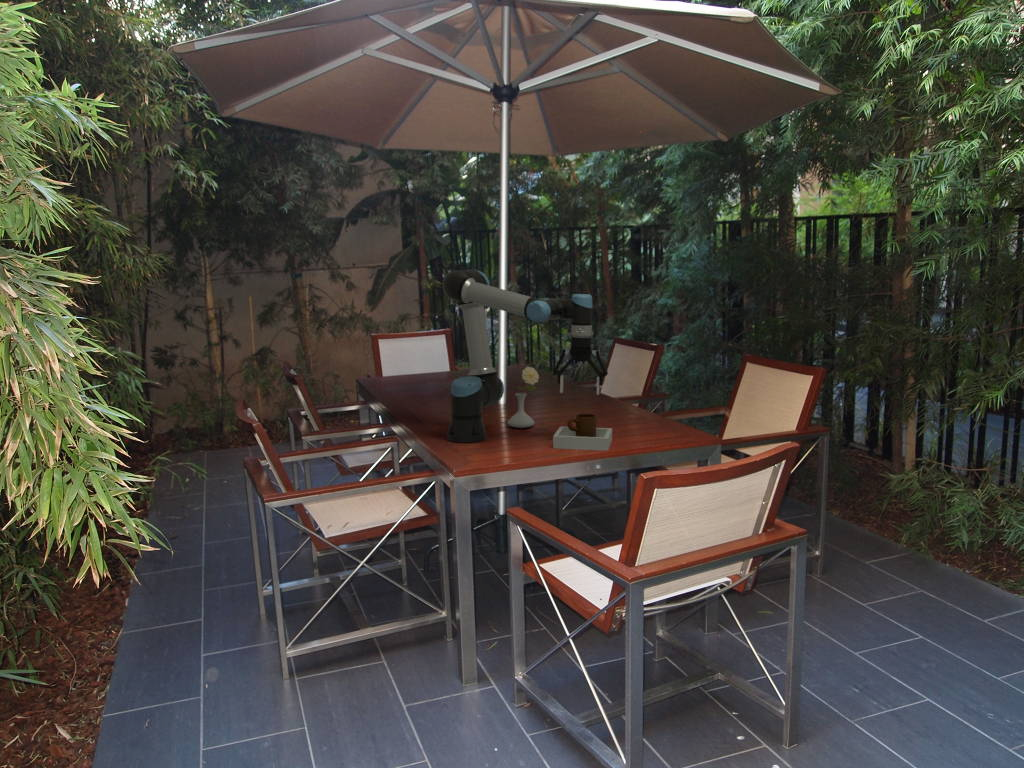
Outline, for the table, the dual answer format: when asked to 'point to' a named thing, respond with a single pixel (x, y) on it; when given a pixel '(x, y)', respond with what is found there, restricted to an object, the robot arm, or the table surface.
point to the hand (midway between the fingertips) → (579, 393)
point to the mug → (583, 425)
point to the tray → (582, 439)
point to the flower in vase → (521, 417)
